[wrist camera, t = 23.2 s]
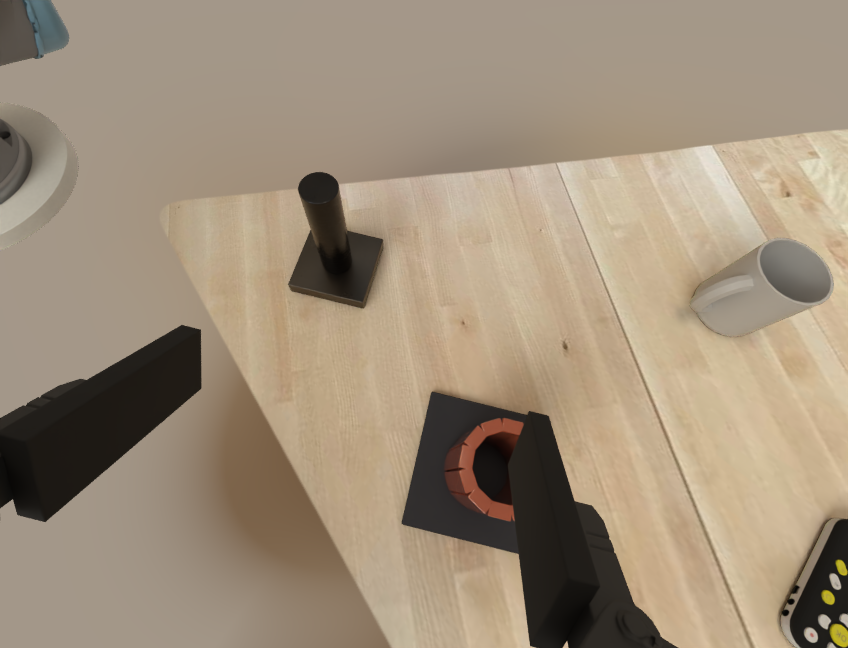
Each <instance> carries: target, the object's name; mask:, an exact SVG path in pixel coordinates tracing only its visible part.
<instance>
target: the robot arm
mask: <svg viewBox="0 0 848 648" xmlns="http://www.w3.org/2000/svg"><path fill="white" fill-rule="evenodd" d="M68 42H69V34H68V31H67V29H66V27H65V25H64V23H63V21H62V19H61V17H60V16H59V14H58V12H57V10H56V9H55V7H54V5H53V3H52V2H51V0H0V66H1V65H6V64H9V63H13V62H17V61H22V60H26V59H30V58H35V59H39V58H42V57H43V56H44V54H47V53H50V52H53V51H56V50H59V49H62V48H64V47H65V46H66V45H67V44H68ZM31 166H32V151H31V148H30V146H29V144H28V142H27V141H26V140H25V139H24V138H23V137H22V136H21V135H20V134H19V133H18V132H17V131H16V130H15V129H14V128H13V127H12V126H11V125H9V124H8V123H7V122H5V121H4V120H2V119H0V204H2V203H3V202H5V201H6V200H8V199H9V198H10V197H11V196H12V195H13V194H14V193H15V192H16V191H17V190H18V189H19V188H20V187H21V186H22V184H23V183H24V182H25V180H26V178H27V177H28V174H29V172H30V169H31ZM200 389H201V330H199V329H195V328H192V327H188V326H184V325H181V326H179V327H178V328H176V329H174V330H172V331H171V332H169V333H167V334H166V335H164V336H162V337H160V338H159V339H157V340H155V341H153V342H152V343H150V344H148V345H147V346H145V347H143V348H141V349H140V350H138V351H136V352H134V353H133V354H131V355H129V356H128V357H126V358H124V359H122V360H121V361H119V362H117V363H115V364H114V365H112V366H110V367H108V368H107V369H105V370H103V371H102V372H100V373H98V374H96V375H95V376H93V377H91V378H89V379H88V380H84V379H79V380H75V381H72V382H69V383H66V384H63V385H60V386H57V387H56V388H54V389H52V390H50V391H48V392H47V393H45V394H43V395H42V396H41V397H40V398H39V397H38V398H36V399H34V400H32V401H30V402H29V403H27V405H26V406H22V407H20V408H18V409H16V410H14V411H12V412H11V413H9V414H7V415H5V416H3V417H2V418H0V508H1V507H3V506H4V505H5V504H7V503H8V502H9V501H11V500H12V499H13V500H14V504H15V508H16V512H17V515H20V516H23V517H27V518H32V519H35V520H39V521H43V522H46V521H47V520H48V519H49V518H50V517H52V516H53V515H54V514H55V513H56V512H58V511H59V510H60V509H61V508H62V507H63V506H64V505H66V504H67V503H68V502H69V501H70V500H72V499H73V498H74V497H75V496H76V495H77V494H79V493H80V492H81V491H82V490H83V489H84V488H86V487H87V486H88V485H89V484H90V483H91V482H93V481H94V480H95V479H96V478H97V477H98V476H99V475H101V474H102V473H103V472H104V471H105V470H107V469H108V468H109V467H110V466H111V465H112V464H114V463H115V462H116V461H117V460H118V459H119V458H121V457H122V456H123V455H124V454H125V453H126V452H128V451H129V450H130V449H131V448H132V447H133V446H135V445H136V444H137V443H138V442H139V441H140V440H142V439H143V438H144V437H145V436H146V435H147V434H148V433H150V432H151V431H152V430H153V429H154V428H155V427H157V426H158V425H159V424H160V423H162V422H163V421H164V420H165V419H166V418H167V417H168V416H170V415H171V414H172V413H173V412H174V411H175V410H177V409H178V408H179V407H180V406H181V405H183V404H184V403H185V402H186V401H187V400H188V399H190V398H191V397H192V396H193V395H194V394H195V393H197V392H198V391H199V390H200ZM508 471H509V479H510V487H511V495H512V503H513V511H514V519H515V527H516V535H517V544H518V552H519V560H520V568H521V576H522V584H523V592H524V600H525V608H526V616H527V625H528V633H529V641H530V646H532V647H536V648H563V646H564V644H565V643H566V641H567V642H568V647H569V648H678V647H676V646H674V645H673V644H671V643H669V642H668V641H666V640H665V639H663V638H662V637H661V636H660V633H659V631H658V630H657V628H656V626H655V625H654V623H653V622H652V620H651V619H650V618H649V617H648V616H647V615H646V614H645V613H644V612H643V611H642V610H641V609H639V608H638V607H636V606H635V604H634V602H633V600H632V597H631V594H630V591H629V589H628V586H627V583H626V581H625V578H624V575H623V572H622V570H621V567H620V564H619V562H618V559H617V556H616V553H614V548H613V545H612V543H611V540H609V534H608V532H607V529H606V526H605V524H604V521H603V520H602V518H601V517H600V516H599V514H598V513H597V512H596V510H595V509H594V508H593V506H591V505H587V504H583V503H579V502H575V501H574V498H573V495H572V491H571V488H570V485H569V482H568V478H567V475H566V472H565V468H564V465H563V462H562V459H561V455H560V452H559V449H558V445H557V442H556V439H555V436H554V432H553V429H552V426H551V422H550V419H549V416H547V415H543V414H539V413H535V412H531V411H529V413H528V415H527V418H526V420H525V423H524V425H523V428H522V430H521V433H520V435H519V438H518V440H517V443H516V445H515V448H514V450H513V453H512V455H511V458H510V461H509V463H508Z"/></svg>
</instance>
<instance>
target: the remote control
mask: <svg viewBox="0 0 848 648" xmlns="http://www.w3.org/2000/svg"><path fill="white" fill-rule="evenodd" d="M781 627H782V630H783V633H784V634H785V636H786V638H787V639H788V640H789V641H790V642H791V643H792V644H793V645H794V646H795V647H796V648H848V519H840V518H835V519H831V520H829V521H828V522H827V523H826V524H825V526H824V528H823V530H822V533H821V535H820V537H819V539H818V541H817V543H816V545H815V547H814V549H813V551H812V553H811V555H810V557H809V559H808V561H807V563H806V565H805V567H804V570H803V572H802V574H801V576H800V578H799V580H798V582H797V584H796V585H795V587H794V589H793V591H792V594H791V596H790V598H789V600H788V602H787V605H786V607H785V609H784V610H783V611H782V615H781Z"/></svg>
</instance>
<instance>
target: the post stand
mask: <svg viewBox="0 0 848 648" xmlns="http://www.w3.org/2000/svg"><path fill="white" fill-rule="evenodd" d="M298 191H299V195H300V198H301V201H302V204H303V207H304V210H305V213H306V216H307V219H308V222H309V225H310V228H311V230H310V233H309V235H308V238H307V240H306V243H305V245H304V247H303V250H302V252H301V255H300V257H299V260H298V262H297V264H296V267H295V269H294V272H293V274H292V277H291V279H290V281H289V284H288V285H289V287H290V289H291V291H294V292H298V293H303V294H307V295H311V296H315V297H319V298H323V299H327V300H331V301H335V302H339V303H343V304H347V305H352V306H356V307H360V308H364V306H365V303H366V300H367V297H368V294H369V290H370V287H371V284H372V281H373V278H374V275H375V272H376V269H377V266H378V262H379V259H380V256H381V253H382V250H383V239H379V238H375V237H371V236H367V235H362V234H358V233H354V232H350V231H347V228H346V223H345V217H344V212H343V206H342V201H341V196H340V190H339V185H338V182H337V181H336V179H335V178H334V177H333V176H331V175H330V174H327V173H323V172H315V173H311V174H309V175H307V176H305V177H304V178H303V179H302V180H301V182H300V184H299V187H298Z"/></svg>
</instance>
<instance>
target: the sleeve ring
mask: <svg viewBox="0 0 848 648" xmlns="http://www.w3.org/2000/svg"><path fill="white" fill-rule="evenodd" d="M523 425H524V424H523V422H519V421H515V420H511V419H507V418H502V419H500V418H497V419H494V420H491V421H488V422H484V423H481V424H480V425H478V426H476V427H475V428H473V429H472V430H470V431H469V432H467V433H466V434H464V435H463V436H461V437H460V438H458V440H457V441H456V442H455V443H454V444H453V445H452V446H451V448H450V449H449V450H448V451H449V452H448V453H447V455H446V460H445V465H444V471H448V472H445V473H444V476H445V479H446V482H447V486H448V489H449V491H452V492H451V494H452V495H453V496H454V497H455V498H456V499H457V500H458V501H459V502H460V503H461V504H462V505H463V506H465V507H466V508H468V509H471V510H474V511H476V512H479V513H482V514H485V515H487V516H491V517H495V518H498V519H502V520H506V521H511V520H513V521H515V519H514V511H513V503H512V495H511V487H510V479H509V471H508V470H507V477H506V484H505V485H504V486H503V488H502V489H501V490H500V492H499V493H498V494H497V495H496V496H493V497H490V498H489V497H488V496H487V495H486V494H485V493H484V492H483V491H482V490H481V489H480V488H479V487H478V484H477V481H476V478H475V475H474V472H473V469H472V467H473V462H474V456H475V450H476V449H477V448H478V446H479V445H480V444H481V443H484V444H488V445H492V446H493V447H494V448H495V449H496V450H497V451H498V452H500V453H501V454H502V455H503V458H504V461H505V463H506V466H507V469H508V463H509V461H510V458H511V455H512V453H513V450H514V448H515V445H516V443H517V440H518V438H519V435H520V433H521V430H522V428H523Z"/></svg>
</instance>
